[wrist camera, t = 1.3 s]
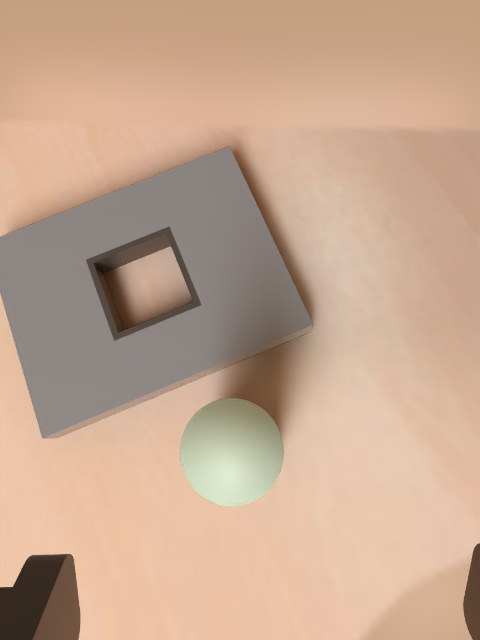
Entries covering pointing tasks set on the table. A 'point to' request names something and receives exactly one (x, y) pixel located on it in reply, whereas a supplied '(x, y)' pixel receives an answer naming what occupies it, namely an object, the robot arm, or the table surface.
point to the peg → (231, 452)
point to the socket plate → (158, 333)
